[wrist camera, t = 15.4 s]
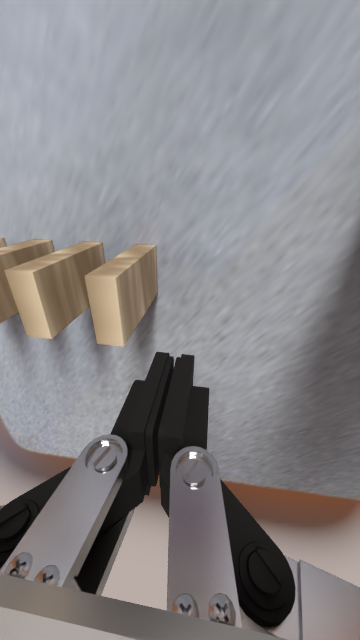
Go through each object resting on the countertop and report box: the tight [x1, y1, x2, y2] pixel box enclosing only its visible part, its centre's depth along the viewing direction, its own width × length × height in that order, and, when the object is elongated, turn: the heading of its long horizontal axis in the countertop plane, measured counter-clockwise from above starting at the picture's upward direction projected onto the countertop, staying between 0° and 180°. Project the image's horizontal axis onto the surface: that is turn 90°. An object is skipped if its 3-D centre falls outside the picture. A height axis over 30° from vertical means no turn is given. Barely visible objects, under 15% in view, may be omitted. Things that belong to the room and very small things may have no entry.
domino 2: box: [4, 242, 105, 339], centre depth 21 cm, size 2×5×10 cm, turn 179°
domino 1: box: [0, 239, 55, 323], centre depth 21 cm, size 2×5×10 cm, turn 179°
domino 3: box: [85, 244, 158, 347], centre depth 20 cm, size 2×5×10 cm, turn 179°
